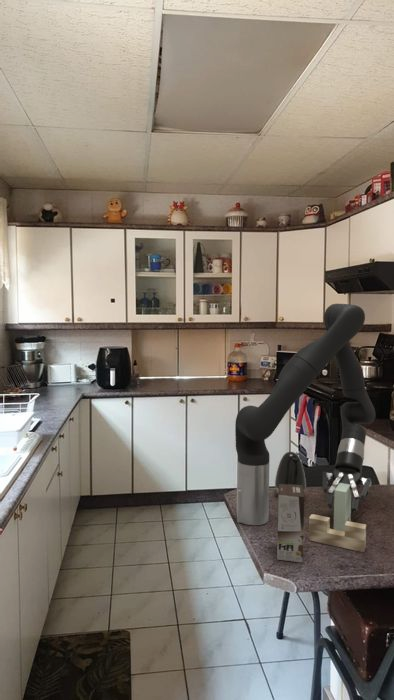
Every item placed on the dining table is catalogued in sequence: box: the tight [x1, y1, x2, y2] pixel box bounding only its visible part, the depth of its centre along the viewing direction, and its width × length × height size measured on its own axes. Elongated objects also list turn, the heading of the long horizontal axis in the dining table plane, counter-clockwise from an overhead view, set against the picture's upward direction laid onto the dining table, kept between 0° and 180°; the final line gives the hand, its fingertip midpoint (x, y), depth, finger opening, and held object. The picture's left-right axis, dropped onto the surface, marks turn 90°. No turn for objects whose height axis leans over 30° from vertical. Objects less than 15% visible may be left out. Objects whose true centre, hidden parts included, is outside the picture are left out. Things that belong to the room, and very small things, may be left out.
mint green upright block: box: [333, 483, 352, 532], centre depth 131 cm, size 9×3×12 cm, turn 152°
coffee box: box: [276, 484, 306, 563], centre depth 116 cm, size 9×6×16 cm
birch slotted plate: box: [308, 513, 367, 553], centre depth 121 cm, size 14×3×6 cm, turn 62°
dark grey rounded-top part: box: [274, 451, 307, 493], centre depth 155 cm, size 10×10×15 cm
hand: (341, 509), depth 129 cm, fingers open, 5 cm apart
